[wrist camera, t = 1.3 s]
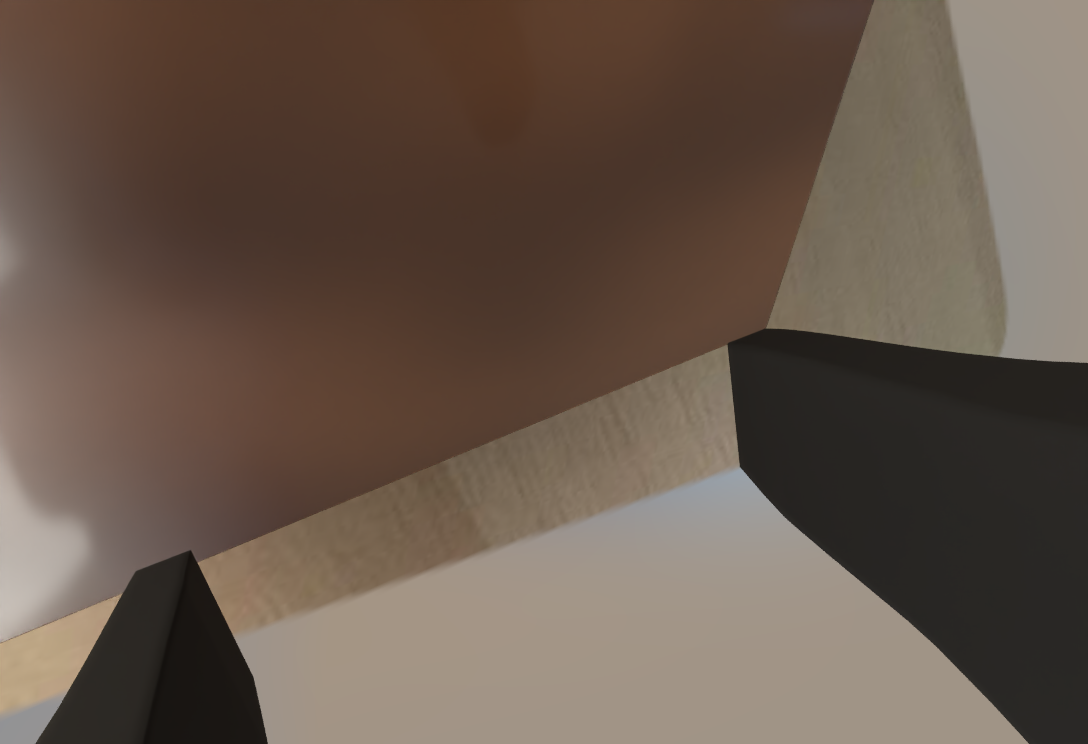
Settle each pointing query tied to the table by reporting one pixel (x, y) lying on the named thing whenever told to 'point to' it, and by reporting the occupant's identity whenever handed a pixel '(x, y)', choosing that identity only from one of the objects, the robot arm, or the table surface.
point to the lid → (363, 244)
